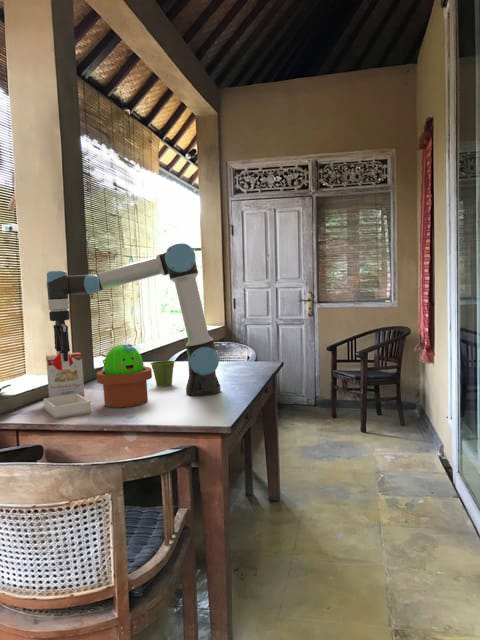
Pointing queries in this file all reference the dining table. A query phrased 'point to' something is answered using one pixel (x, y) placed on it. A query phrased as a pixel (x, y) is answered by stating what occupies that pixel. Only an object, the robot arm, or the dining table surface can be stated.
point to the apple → (58, 362)
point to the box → (67, 405)
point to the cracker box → (65, 377)
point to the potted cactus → (124, 377)
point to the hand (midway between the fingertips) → (63, 368)
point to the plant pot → (163, 372)
